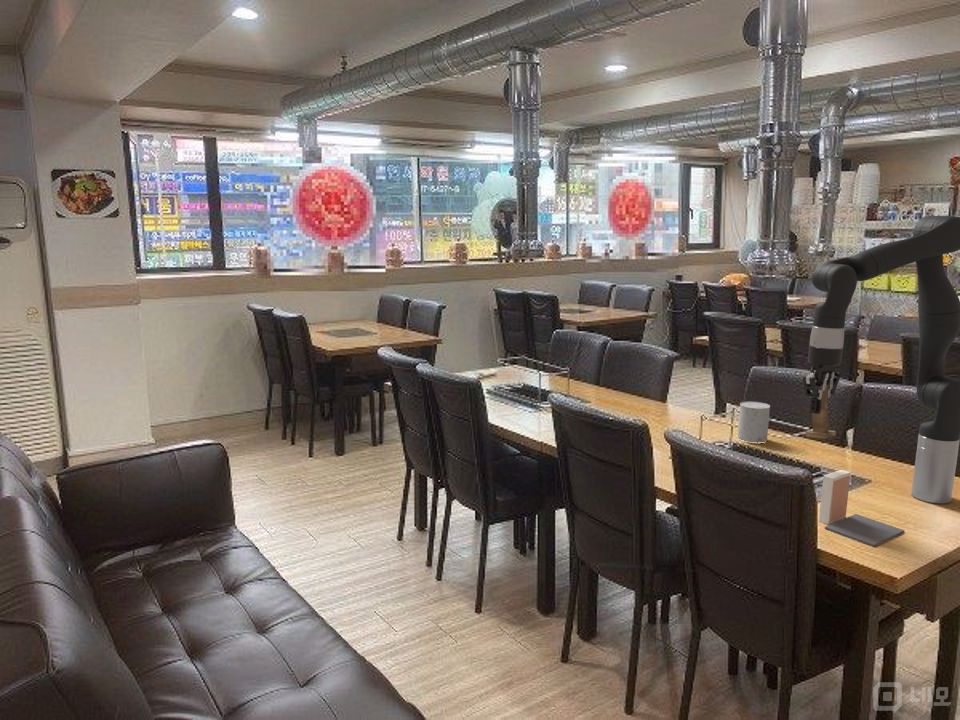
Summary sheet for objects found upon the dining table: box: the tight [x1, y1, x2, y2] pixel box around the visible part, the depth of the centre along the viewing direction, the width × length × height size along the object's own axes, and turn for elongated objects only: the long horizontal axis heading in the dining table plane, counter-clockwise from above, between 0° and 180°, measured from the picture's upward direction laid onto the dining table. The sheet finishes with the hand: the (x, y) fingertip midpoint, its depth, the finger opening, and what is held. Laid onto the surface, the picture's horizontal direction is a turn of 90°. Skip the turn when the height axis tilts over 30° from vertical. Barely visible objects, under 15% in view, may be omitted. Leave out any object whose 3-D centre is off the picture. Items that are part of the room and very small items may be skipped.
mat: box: [824, 513, 905, 548], centre depth 173 cm, size 14×12×1 cm
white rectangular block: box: [818, 469, 851, 526], centre depth 178 cm, size 8×3×12 cm, turn 124°
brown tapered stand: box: [805, 385, 837, 439], centre depth 180 cm, size 5×5×13 cm
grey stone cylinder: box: [737, 401, 771, 443], centre depth 243 cm, size 10×10×12 cm
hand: (818, 412), depth 181 cm, fingers closed on brown tapered stand, 2 cm apart
